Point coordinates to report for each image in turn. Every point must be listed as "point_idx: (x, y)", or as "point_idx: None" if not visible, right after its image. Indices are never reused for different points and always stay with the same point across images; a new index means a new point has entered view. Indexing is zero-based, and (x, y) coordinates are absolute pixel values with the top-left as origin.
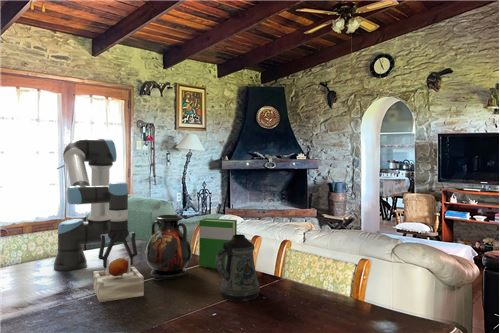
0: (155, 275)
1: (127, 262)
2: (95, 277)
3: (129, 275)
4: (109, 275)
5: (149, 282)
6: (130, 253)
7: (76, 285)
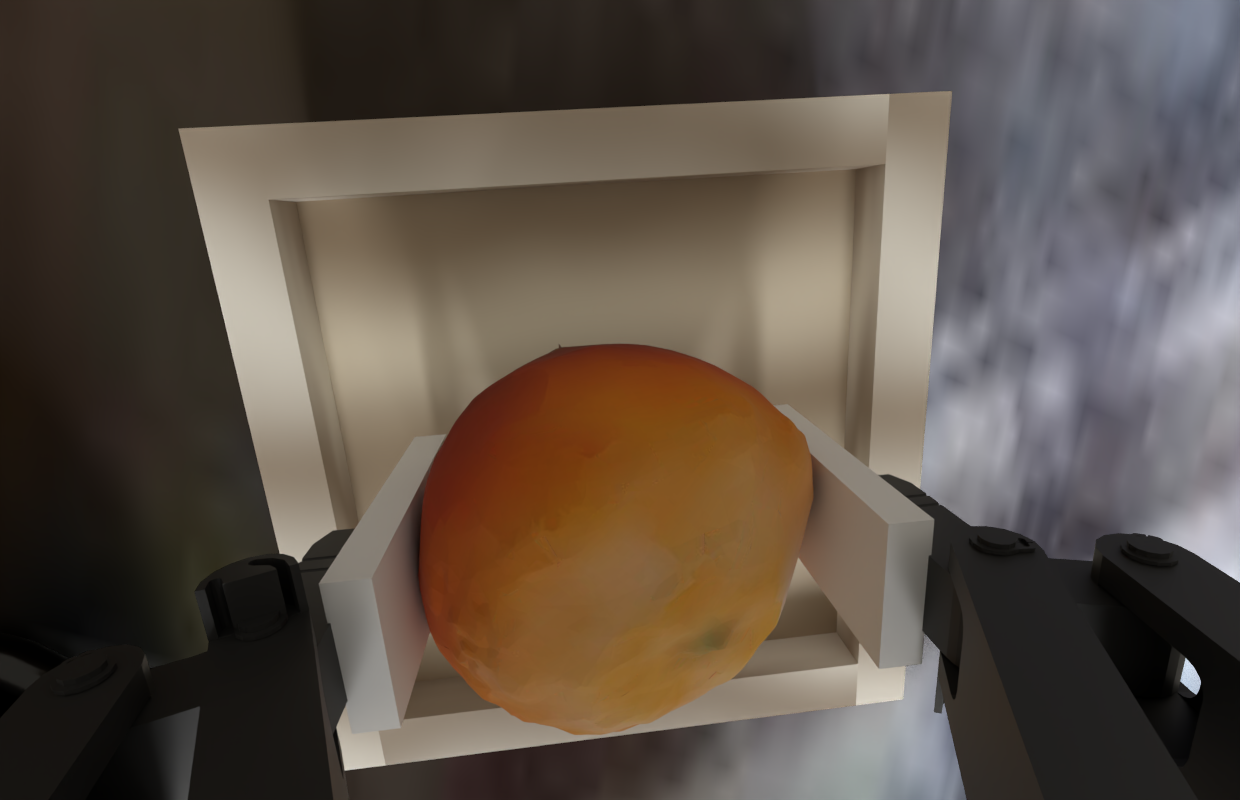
0: None
1: (424, 530)
2: None
3: None
4: None
5: None
6: (255, 686)
7: (926, 705)
